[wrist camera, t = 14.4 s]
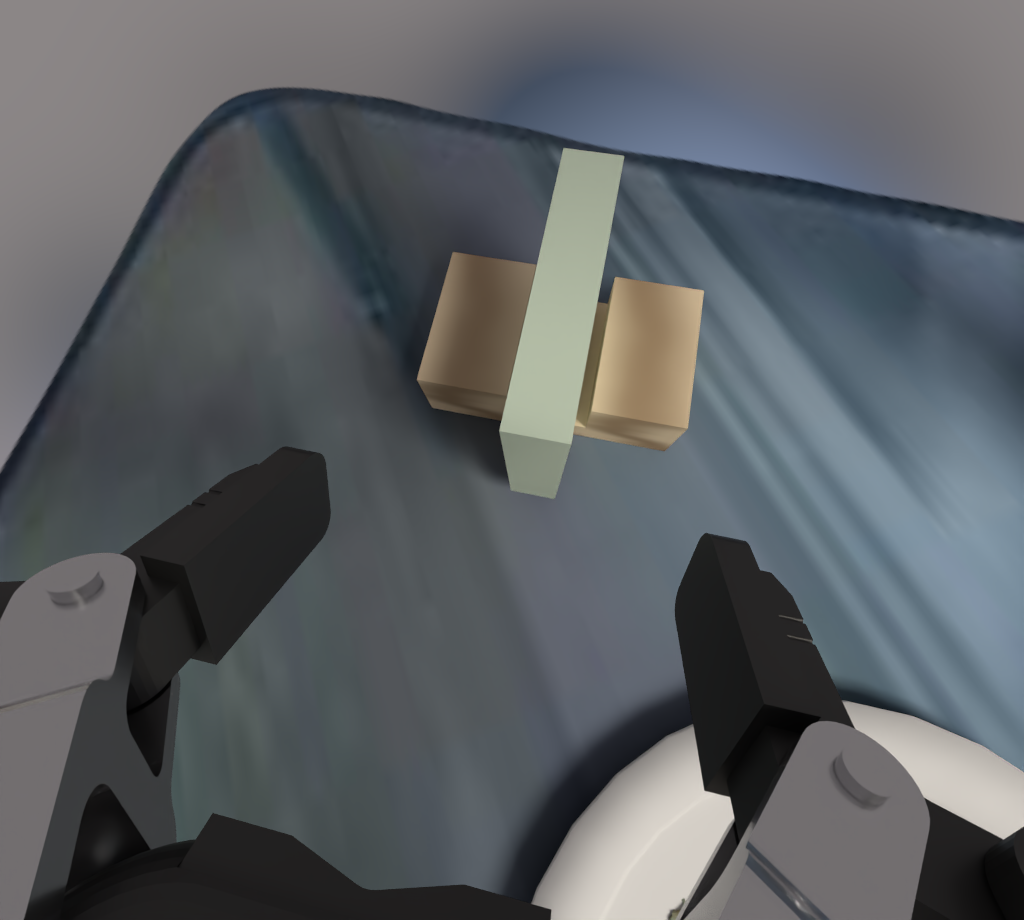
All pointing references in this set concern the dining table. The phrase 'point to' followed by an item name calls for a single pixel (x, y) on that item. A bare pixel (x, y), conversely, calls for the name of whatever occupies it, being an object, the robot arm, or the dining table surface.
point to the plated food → (705, 816)
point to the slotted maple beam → (610, 362)
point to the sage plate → (559, 323)
